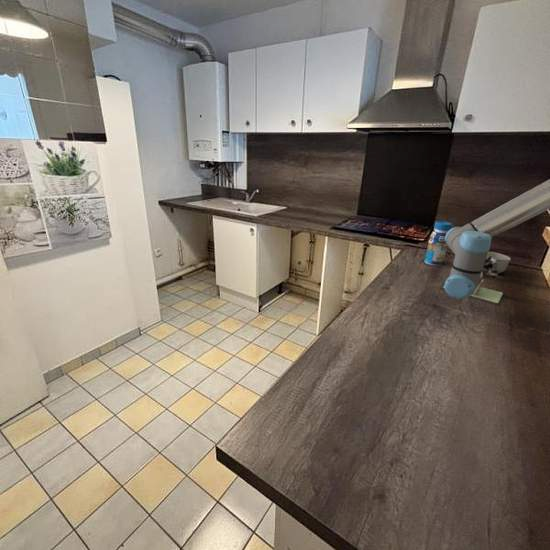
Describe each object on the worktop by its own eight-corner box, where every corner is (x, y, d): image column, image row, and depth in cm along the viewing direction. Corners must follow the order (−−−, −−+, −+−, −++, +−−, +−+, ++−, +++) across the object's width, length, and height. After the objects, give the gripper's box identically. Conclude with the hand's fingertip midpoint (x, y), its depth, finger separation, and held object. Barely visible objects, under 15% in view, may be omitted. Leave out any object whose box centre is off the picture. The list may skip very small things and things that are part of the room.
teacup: (481, 265, 141) (486, 249, 137) (508, 272, 133) (514, 255, 130) (470, 272, 132) (475, 255, 129) (498, 279, 125) (504, 262, 122)
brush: (481, 286, 114) (493, 250, 108) (474, 294, 107) (487, 256, 101) (470, 283, 116) (480, 247, 111) (462, 291, 110) (473, 253, 104)
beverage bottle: (426, 259, 147) (436, 220, 139) (444, 263, 142) (455, 222, 134) (421, 263, 141) (431, 222, 133) (440, 267, 136) (451, 225, 128)
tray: (502, 295, 111) (503, 292, 110) (497, 305, 103) (498, 303, 102) (450, 281, 122) (450, 278, 122) (441, 289, 114) (442, 287, 113)
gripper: (440, 278, 102) (457, 262, 118) (495, 292, 92) (506, 273, 108) (445, 258, 99) (462, 244, 115) (503, 270, 89) (512, 254, 105)
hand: (483, 258), depth 111 cm, fingers closed on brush, 3 cm apart
